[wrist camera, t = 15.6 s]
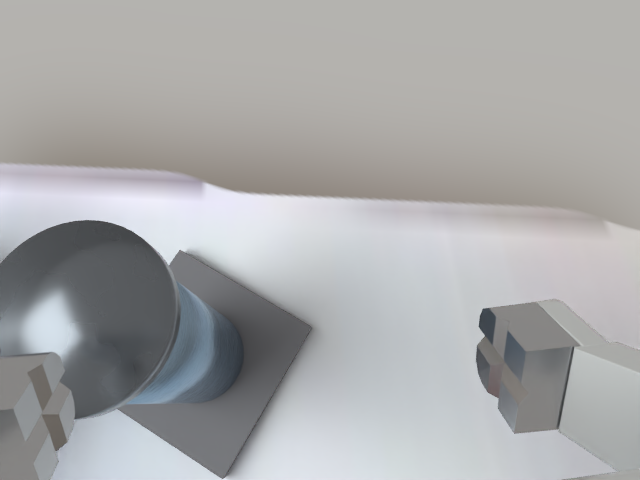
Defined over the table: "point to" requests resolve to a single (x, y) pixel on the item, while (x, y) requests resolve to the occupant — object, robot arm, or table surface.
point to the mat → (251, 384)
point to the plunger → (114, 320)
